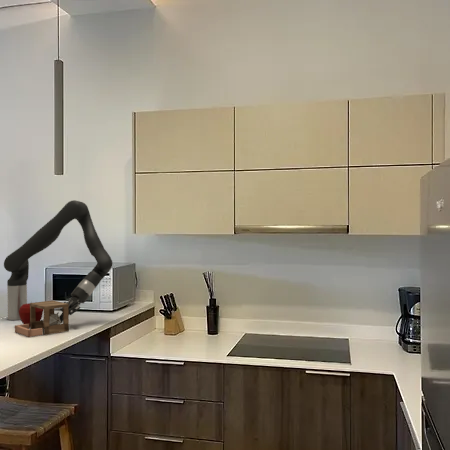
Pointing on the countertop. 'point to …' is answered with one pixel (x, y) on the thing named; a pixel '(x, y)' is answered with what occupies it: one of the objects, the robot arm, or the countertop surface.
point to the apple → (25, 313)
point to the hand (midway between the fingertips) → (59, 320)
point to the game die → (53, 319)
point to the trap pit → (28, 331)
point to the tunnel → (48, 309)
